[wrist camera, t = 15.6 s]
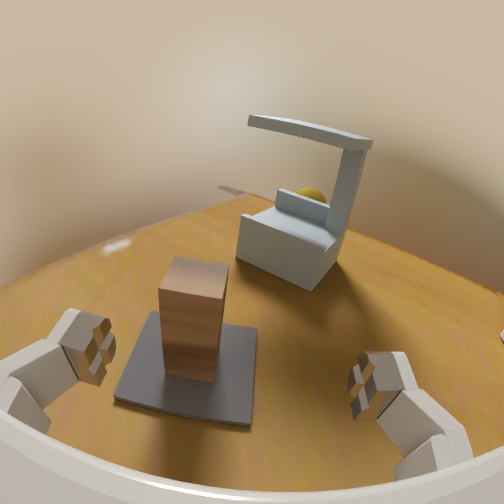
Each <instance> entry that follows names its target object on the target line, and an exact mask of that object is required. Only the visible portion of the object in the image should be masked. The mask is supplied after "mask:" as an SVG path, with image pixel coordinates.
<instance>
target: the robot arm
mask: <svg viewBox="0 0 504 504" xmlns="http://www.w3.org/2000/svg"><path fill="white" fill-rule="evenodd" d="M111 327H112V326H111V323H110V319H108V318H105V317H101V316H98V315H94V314H91V313H87V312H84V311H80V310H76V309H73V308H70V309H68V310H66V312H65V313H64V315H63V316H62V317H61V319H60V320H59V321H58V323H57V324H56V326H55V327H54V328H53V330H52V331H51V333H50V334H49V336H48V337H47V339H46V340H45V339H41V340H39V341H37V342H35V343H33V344H31V345H29V346H28V347H26V348H24V349H22V350H20V351H18V352H16V353H14V354H12V355H10V356H8V357H7V358H5V359H3V360H1V361H0V504H504V445H503V446H501V447H499V448H497V449H495V450H492V451H490V452H488V453H485V454H483V455H481V456H478V457H476V458H474V456H473V453H472V450H471V446H470V443H469V440H468V437H467V434H466V431H465V428H464V426H462V425H461V424H460V423H459V422H458V421H457V420H456V419H455V418H454V417H453V416H451V415H450V414H449V413H448V412H447V411H446V410H445V409H444V408H443V407H442V406H441V405H439V404H438V403H437V402H436V401H435V400H434V399H433V398H432V397H431V396H430V395H428V394H427V393H426V392H425V391H424V390H423V389H419V388H418V386H417V383H416V380H415V377H414V375H413V372H412V369H411V367H410V364H409V361H408V359H407V356H406V354H405V353H404V352H367V351H364V352H362V353H361V354H360V356H359V357H358V362H359V364H357V365H356V366H354V367H353V368H352V370H351V372H350V374H349V379H348V389H349V394H350V395H351V396H352V397H353V398H354V400H353V402H352V404H351V407H352V412H353V418H354V421H361V420H376V422H377V423H378V424H379V425H380V427H381V428H382V429H383V431H384V432H385V433H386V434H387V436H388V437H389V438H390V440H391V441H392V442H393V443H394V445H395V446H396V447H397V449H398V450H399V451H400V452H401V454H402V455H403V456H404V459H402V460H401V461H400V462H398V463H397V464H395V466H394V467H393V474H394V481H395V482H390V483H384V484H379V485H373V486H366V487H359V488H351V489H342V490H330V491H314V492H263V491H247V490H235V489H226V488H218V487H210V486H204V485H198V484H192V483H186V482H181V481H176V480H172V479H167V478H163V477H159V476H155V475H151V474H147V473H143V472H140V471H136V470H133V469H130V468H126V467H123V466H120V465H117V464H114V463H111V462H108V461H105V460H103V459H100V458H97V457H95V456H92V455H89V454H87V453H84V452H82V451H80V450H77V449H75V448H73V447H70V446H68V445H66V444H64V443H61V442H59V441H57V440H55V439H53V438H51V437H49V436H47V435H46V434H47V432H48V429H49V427H50V425H51V421H50V418H49V417H48V416H47V415H46V414H45V412H44V411H43V409H44V408H45V407H47V406H48V405H49V404H51V403H52V402H53V401H54V400H56V399H57V398H58V397H60V396H61V395H62V394H64V393H65V392H66V391H67V390H69V389H70V388H71V387H73V386H74V385H75V384H77V383H78V382H79V381H82V382H85V383H88V384H92V385H95V386H98V387H100V385H101V383H102V381H103V379H104V377H105V375H106V373H107V371H106V367H105V366H106V365H107V364H109V363H111V362H112V360H113V357H114V355H115V350H116V340H115V337H114V335H113V334H112V333H111V332H110V329H111ZM500 335H501V338H502V340H503V341H504V330H503V331H502V333H501V334H500ZM78 380H79V381H78Z"/></svg>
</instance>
